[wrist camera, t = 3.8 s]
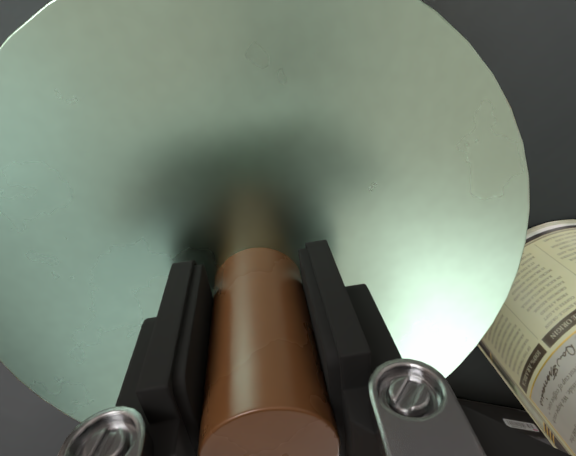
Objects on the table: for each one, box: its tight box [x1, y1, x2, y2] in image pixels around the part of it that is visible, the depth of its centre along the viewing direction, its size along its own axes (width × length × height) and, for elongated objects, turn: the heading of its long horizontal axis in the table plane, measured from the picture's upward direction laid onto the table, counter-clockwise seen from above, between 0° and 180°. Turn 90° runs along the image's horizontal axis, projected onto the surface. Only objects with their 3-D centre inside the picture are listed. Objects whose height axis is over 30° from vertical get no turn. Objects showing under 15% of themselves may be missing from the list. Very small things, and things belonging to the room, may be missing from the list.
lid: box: [0, 0, 530, 456], centre depth 9 cm, size 16×16×6 cm
